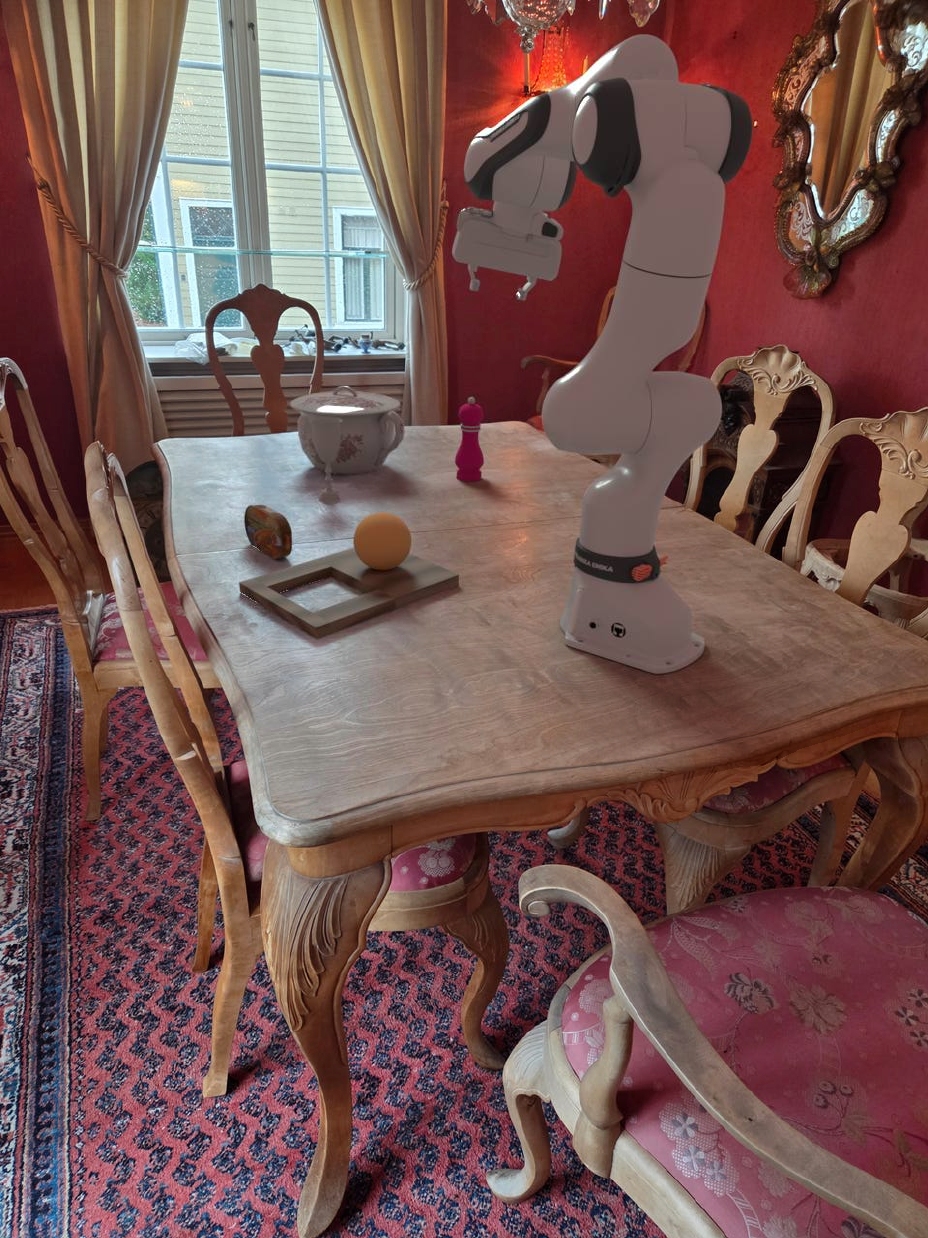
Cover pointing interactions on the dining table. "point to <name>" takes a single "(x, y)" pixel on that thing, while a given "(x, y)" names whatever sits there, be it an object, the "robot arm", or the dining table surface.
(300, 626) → the board
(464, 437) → the pepper mill
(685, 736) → the dining table surface
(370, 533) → the ball
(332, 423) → the chalice
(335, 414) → the chamber pot
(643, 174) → the robot arm
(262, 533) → the tin
